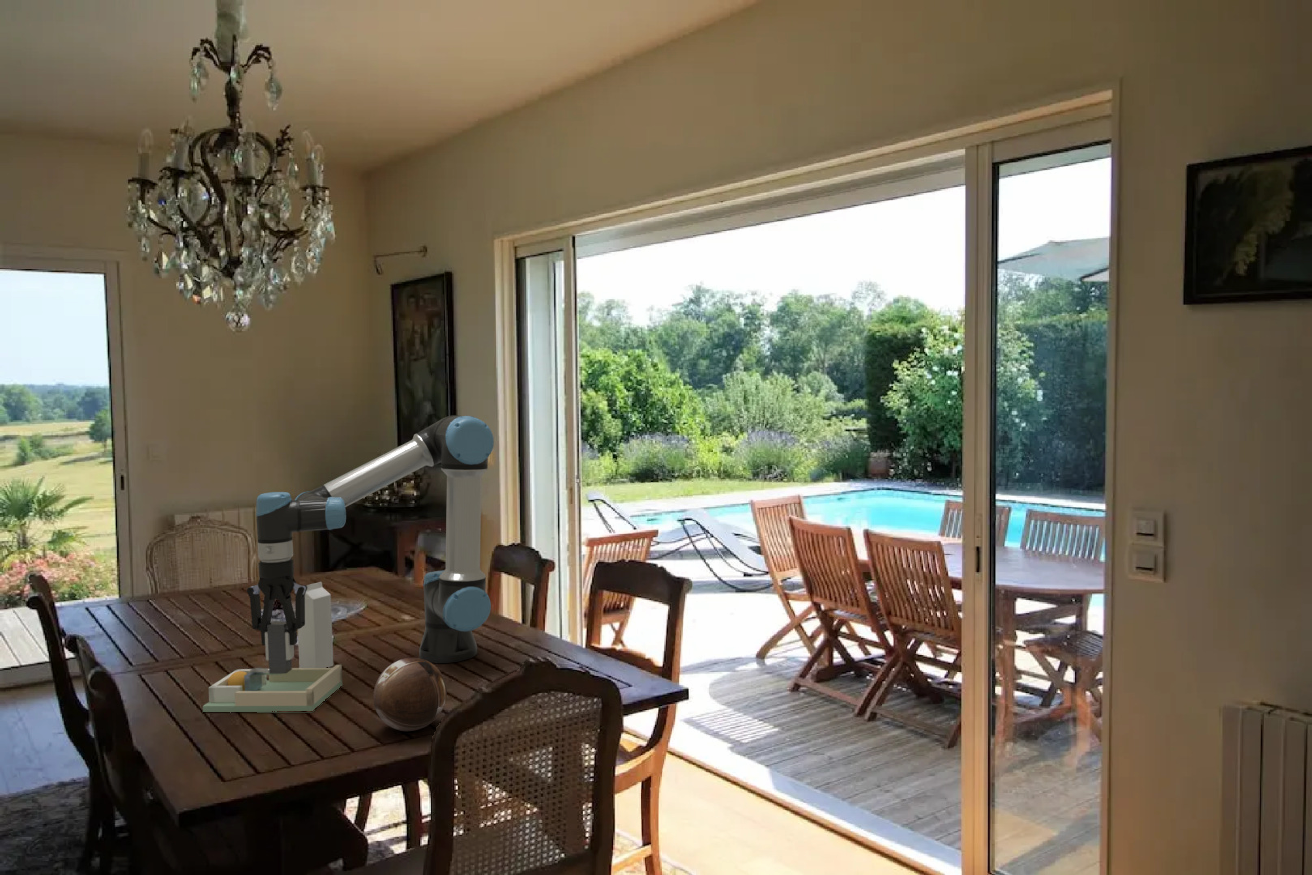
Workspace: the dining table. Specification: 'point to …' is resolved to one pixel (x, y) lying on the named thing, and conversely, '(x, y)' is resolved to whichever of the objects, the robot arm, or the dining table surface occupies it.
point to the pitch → (277, 691)
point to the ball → (237, 679)
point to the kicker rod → (271, 657)
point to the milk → (316, 629)
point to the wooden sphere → (410, 694)
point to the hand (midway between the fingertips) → (280, 658)
